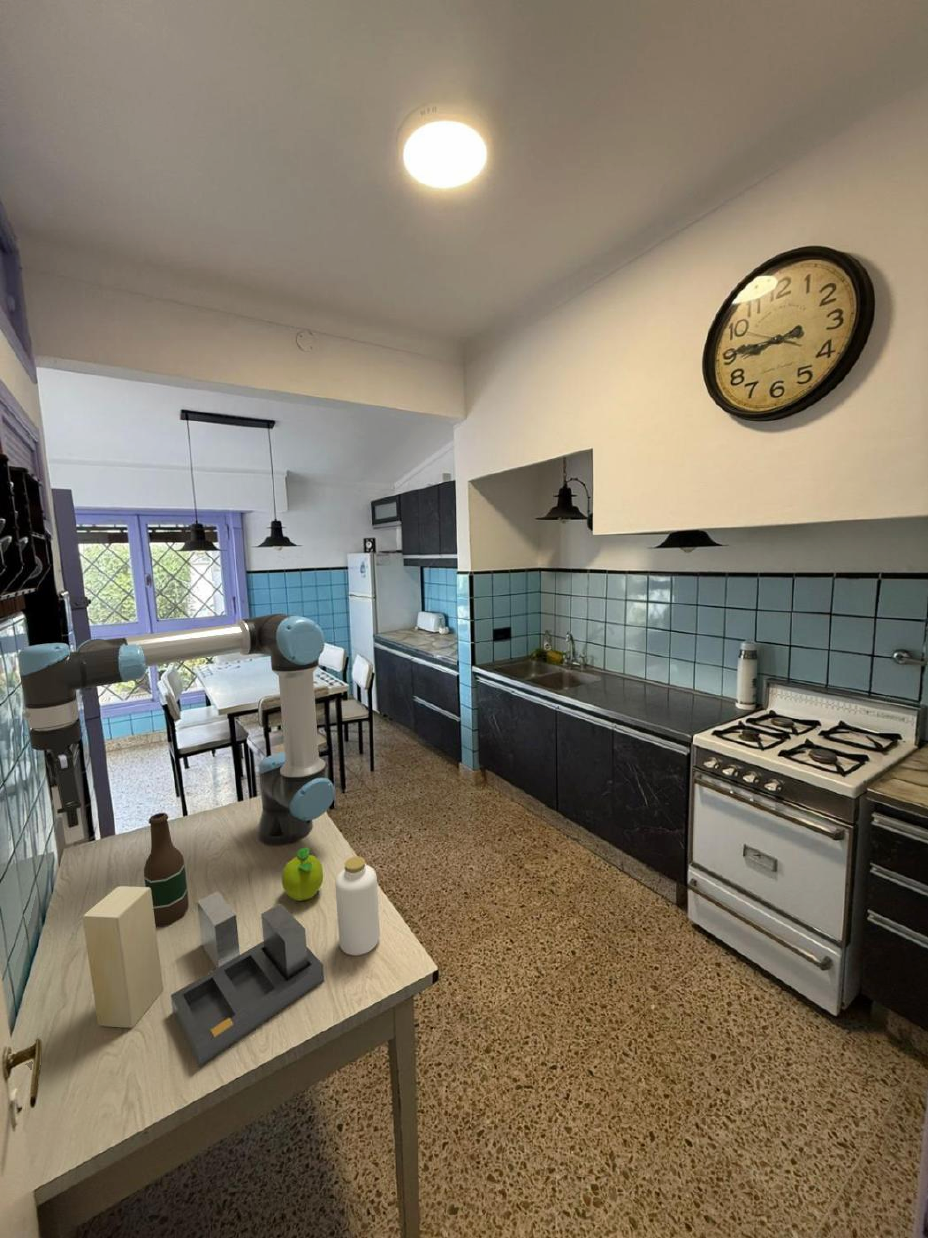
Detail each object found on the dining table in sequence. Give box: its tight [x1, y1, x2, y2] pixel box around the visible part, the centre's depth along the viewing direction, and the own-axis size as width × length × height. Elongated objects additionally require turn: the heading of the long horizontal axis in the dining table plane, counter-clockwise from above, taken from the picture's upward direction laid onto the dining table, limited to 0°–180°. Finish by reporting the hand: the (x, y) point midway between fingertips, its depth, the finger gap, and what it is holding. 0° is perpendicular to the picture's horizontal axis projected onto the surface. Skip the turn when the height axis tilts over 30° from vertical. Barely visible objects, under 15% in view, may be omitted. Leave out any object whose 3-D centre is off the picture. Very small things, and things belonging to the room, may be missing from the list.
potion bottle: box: [334, 856, 381, 956], centre depth 102 cm, size 8×8×18 cm
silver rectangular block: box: [196, 891, 241, 968], centre depth 101 cm, size 4×10×10 cm, turn 45°
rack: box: [170, 903, 325, 1069], centre depth 91 cm, size 22×14×11 cm, turn 135°
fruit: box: [281, 847, 324, 902], centre depth 117 cm, size 9×9×10 cm
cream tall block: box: [82, 885, 164, 1029], centre depth 88 cm, size 8×7×21 cm
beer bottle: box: [143, 812, 190, 927], centre depth 111 cm, size 8×8×24 cm
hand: (69, 827), depth 98 cm, fingers open, 13 cm apart
